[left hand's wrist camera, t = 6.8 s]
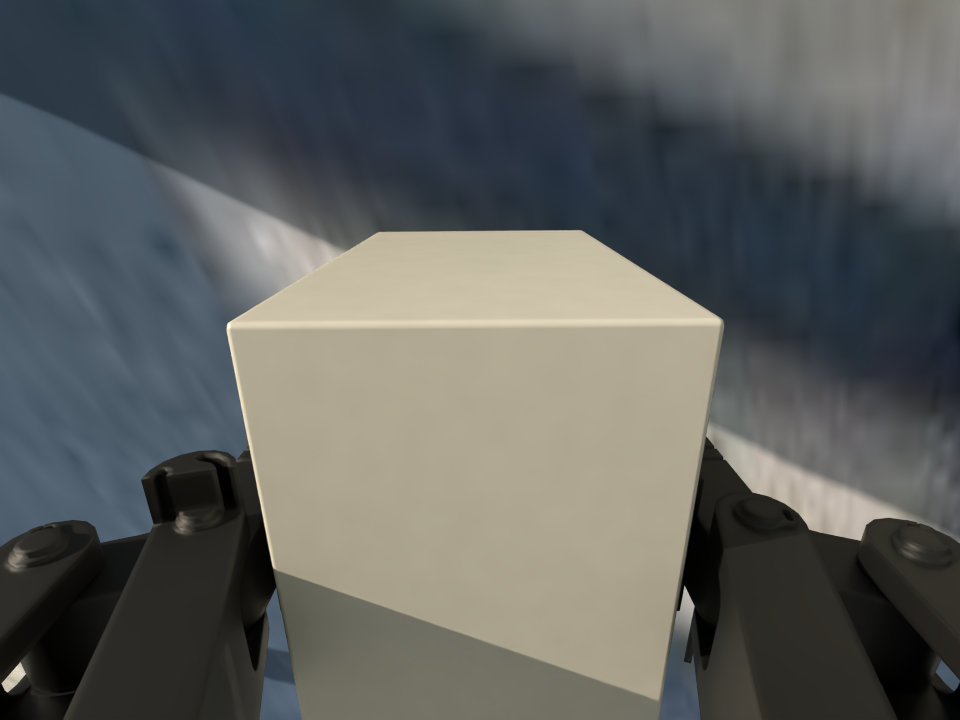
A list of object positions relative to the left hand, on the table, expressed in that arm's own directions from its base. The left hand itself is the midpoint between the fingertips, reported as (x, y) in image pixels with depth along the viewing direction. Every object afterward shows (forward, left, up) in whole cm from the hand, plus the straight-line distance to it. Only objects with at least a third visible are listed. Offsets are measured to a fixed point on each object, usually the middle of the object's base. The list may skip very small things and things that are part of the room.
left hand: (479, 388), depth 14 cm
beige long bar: (+20, -9, -1) cm, 22 cm away
